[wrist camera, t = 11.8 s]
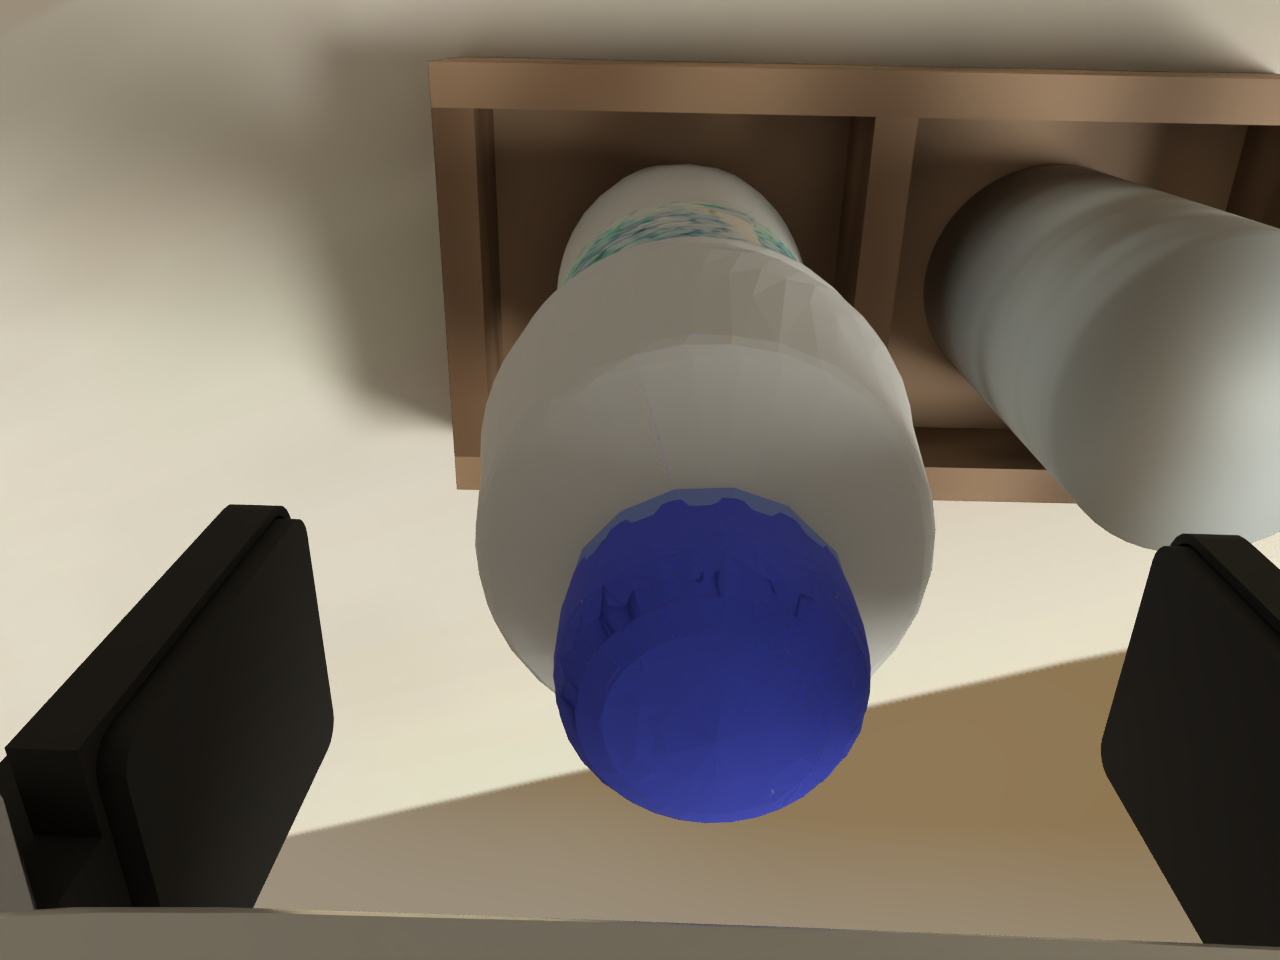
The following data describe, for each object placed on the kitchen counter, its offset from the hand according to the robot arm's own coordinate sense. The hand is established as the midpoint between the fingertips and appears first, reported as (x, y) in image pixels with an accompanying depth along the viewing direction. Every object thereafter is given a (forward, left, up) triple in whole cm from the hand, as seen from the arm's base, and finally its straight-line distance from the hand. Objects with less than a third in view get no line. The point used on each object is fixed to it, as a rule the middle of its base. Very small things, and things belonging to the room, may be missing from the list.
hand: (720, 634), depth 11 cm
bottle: (0, 0, -19) cm, 19 cm away
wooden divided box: (-5, 0, -19) cm, 20 cm away
